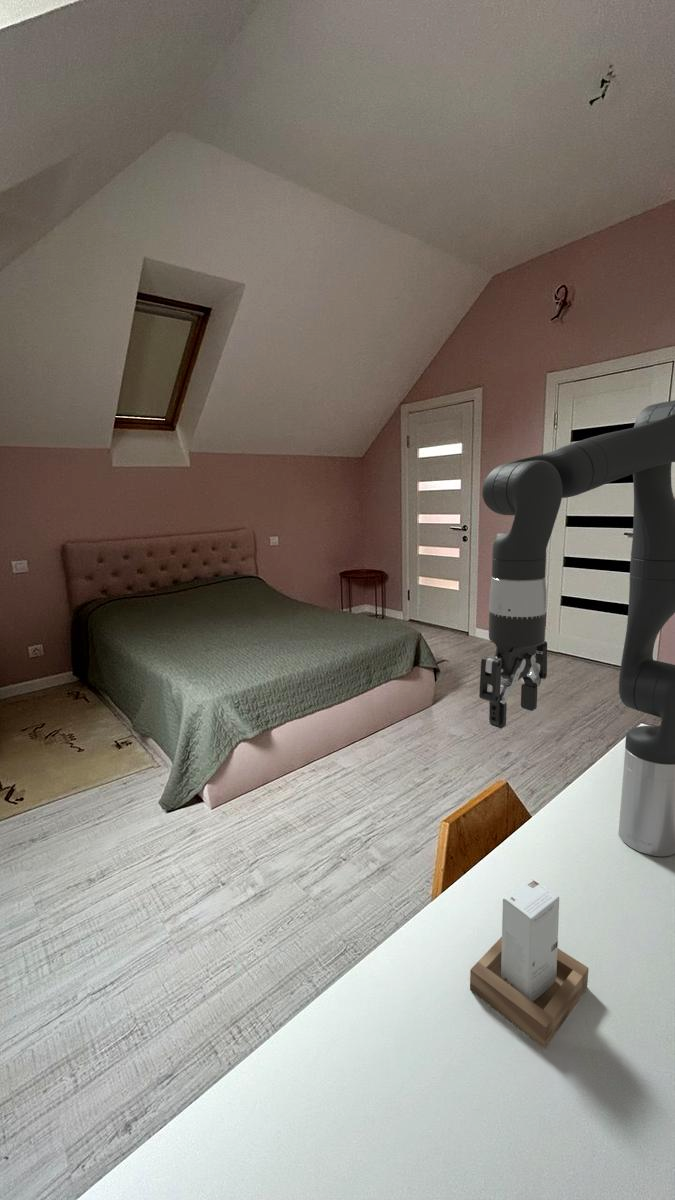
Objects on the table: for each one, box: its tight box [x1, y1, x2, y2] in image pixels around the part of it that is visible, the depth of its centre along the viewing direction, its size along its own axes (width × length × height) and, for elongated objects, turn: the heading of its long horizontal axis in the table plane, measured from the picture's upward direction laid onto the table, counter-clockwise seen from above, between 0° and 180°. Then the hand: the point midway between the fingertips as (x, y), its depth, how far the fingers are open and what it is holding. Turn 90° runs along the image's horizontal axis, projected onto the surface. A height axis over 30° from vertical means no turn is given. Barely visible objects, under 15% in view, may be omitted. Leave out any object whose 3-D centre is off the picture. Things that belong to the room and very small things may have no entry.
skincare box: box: [501, 879, 560, 1002], centre depth 65 cm, size 6×4×12 cm
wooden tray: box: [469, 936, 590, 1050], centre depth 65 cm, size 11×10×3 cm
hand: (513, 717), depth 75 cm, fingers open, 8 cm apart
